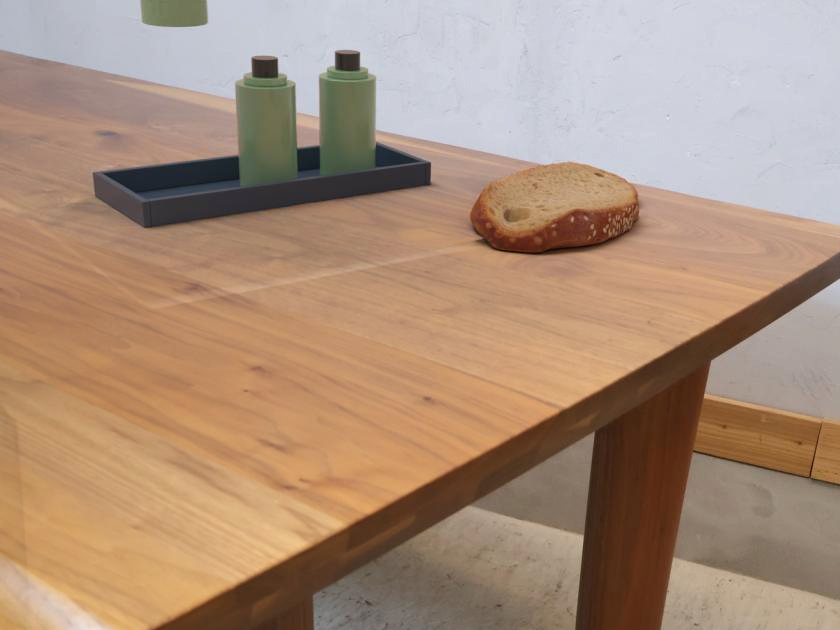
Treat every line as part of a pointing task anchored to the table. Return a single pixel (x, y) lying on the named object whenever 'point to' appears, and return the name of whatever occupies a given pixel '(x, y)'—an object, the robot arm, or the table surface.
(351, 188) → the tray
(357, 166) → the bottle far
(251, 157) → the bottle mid
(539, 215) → the slice of bread
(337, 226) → the table surface
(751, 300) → the table surface
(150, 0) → the bottle loose
